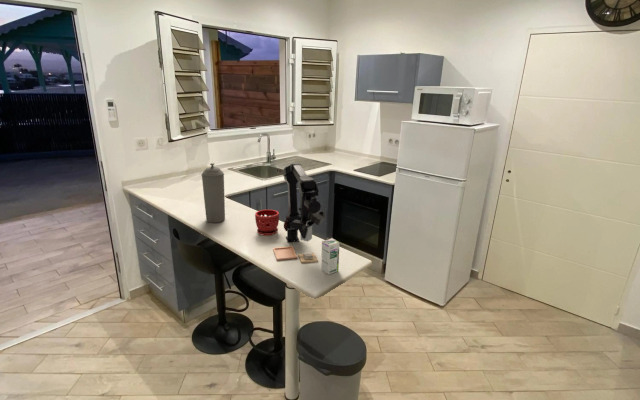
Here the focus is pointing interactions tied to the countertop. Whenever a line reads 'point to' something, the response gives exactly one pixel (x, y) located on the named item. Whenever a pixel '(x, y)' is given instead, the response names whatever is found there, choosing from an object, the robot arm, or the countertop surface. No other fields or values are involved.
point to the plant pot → (267, 222)
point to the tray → (284, 253)
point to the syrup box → (330, 256)
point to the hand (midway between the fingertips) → (306, 236)
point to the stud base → (307, 257)
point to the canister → (214, 194)
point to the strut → (307, 234)
